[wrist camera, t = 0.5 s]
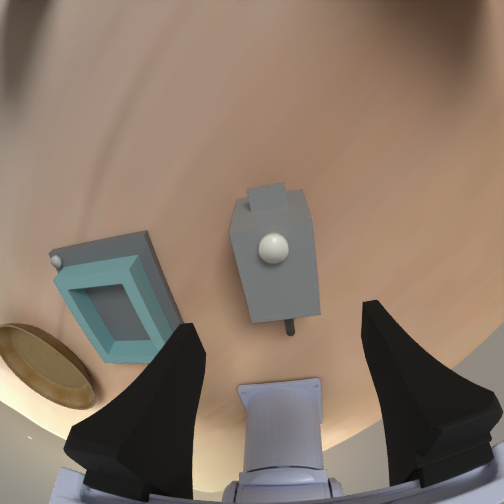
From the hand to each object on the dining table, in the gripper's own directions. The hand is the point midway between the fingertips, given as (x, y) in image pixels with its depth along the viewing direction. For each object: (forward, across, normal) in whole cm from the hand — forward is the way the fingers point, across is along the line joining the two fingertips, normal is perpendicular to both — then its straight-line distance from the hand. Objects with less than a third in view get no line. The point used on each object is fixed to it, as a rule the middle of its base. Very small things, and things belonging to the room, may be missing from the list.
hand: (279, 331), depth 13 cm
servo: (+9, 0, +1) cm, 9 cm away
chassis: (+8, +13, +4) cm, 16 cm away
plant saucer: (+9, +28, +12) cm, 32 cm away
